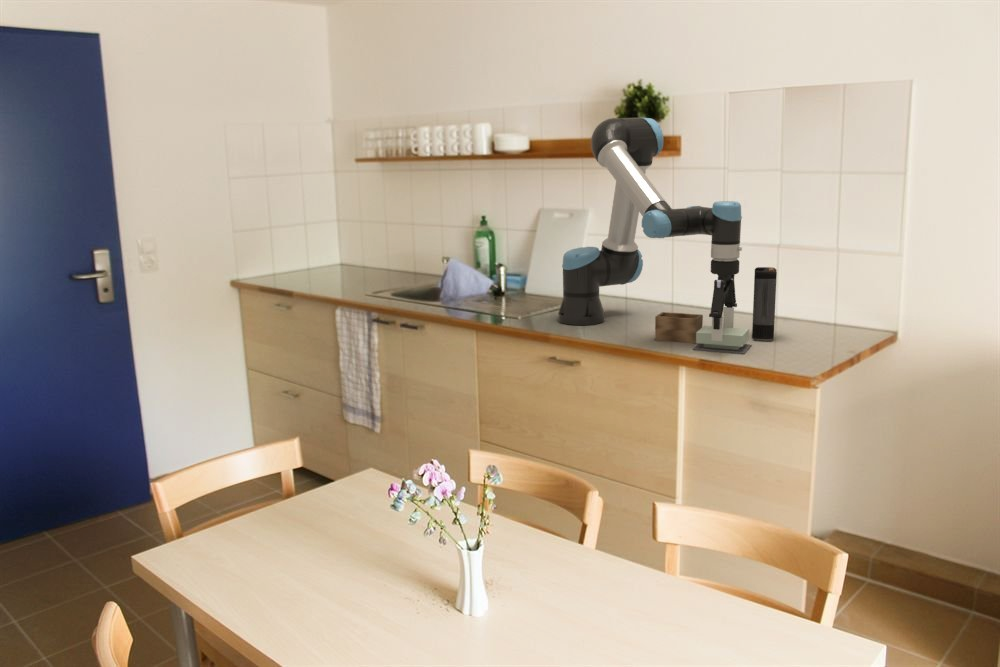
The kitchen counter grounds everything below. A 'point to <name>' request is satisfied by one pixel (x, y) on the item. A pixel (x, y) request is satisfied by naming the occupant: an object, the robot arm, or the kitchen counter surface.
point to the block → (723, 338)
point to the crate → (677, 327)
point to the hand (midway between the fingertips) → (722, 335)
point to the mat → (740, 351)
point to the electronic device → (764, 304)
